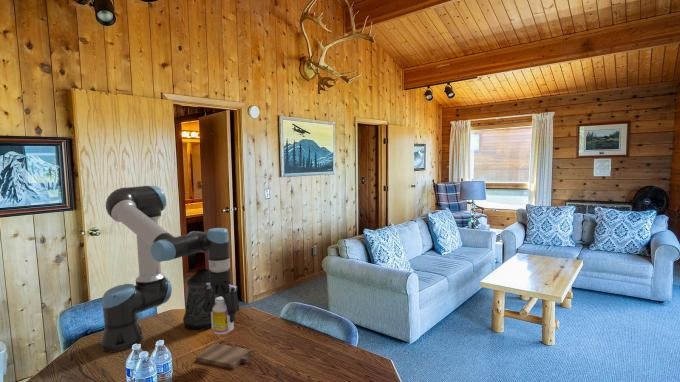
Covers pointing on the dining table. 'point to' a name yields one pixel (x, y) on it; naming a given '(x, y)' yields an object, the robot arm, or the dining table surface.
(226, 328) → the supplement bottle
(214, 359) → the walnut board
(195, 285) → the beer stein
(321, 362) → the dining table surface
